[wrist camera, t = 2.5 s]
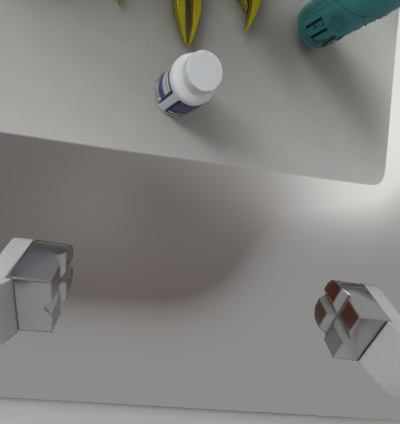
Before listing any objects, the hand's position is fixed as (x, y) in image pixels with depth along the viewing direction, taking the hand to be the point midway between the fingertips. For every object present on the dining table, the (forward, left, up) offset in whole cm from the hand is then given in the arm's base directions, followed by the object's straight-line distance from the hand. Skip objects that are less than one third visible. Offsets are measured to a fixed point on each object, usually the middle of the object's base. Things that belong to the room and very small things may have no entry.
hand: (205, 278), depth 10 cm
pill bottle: (-1, +17, -30) cm, 34 cm away
